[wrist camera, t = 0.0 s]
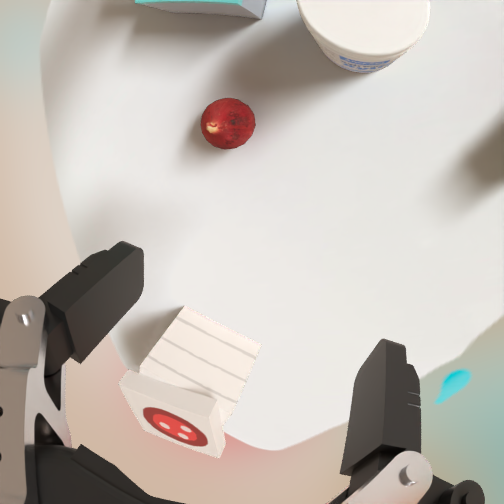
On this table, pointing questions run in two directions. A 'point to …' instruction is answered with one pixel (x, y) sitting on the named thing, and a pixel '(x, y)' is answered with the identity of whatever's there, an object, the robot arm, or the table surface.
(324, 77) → the table surface
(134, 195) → the table surface
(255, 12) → the tub
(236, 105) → the red round fruit
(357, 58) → the supplement tub
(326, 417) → the table surface
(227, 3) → the lid
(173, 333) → the pizza boxes
